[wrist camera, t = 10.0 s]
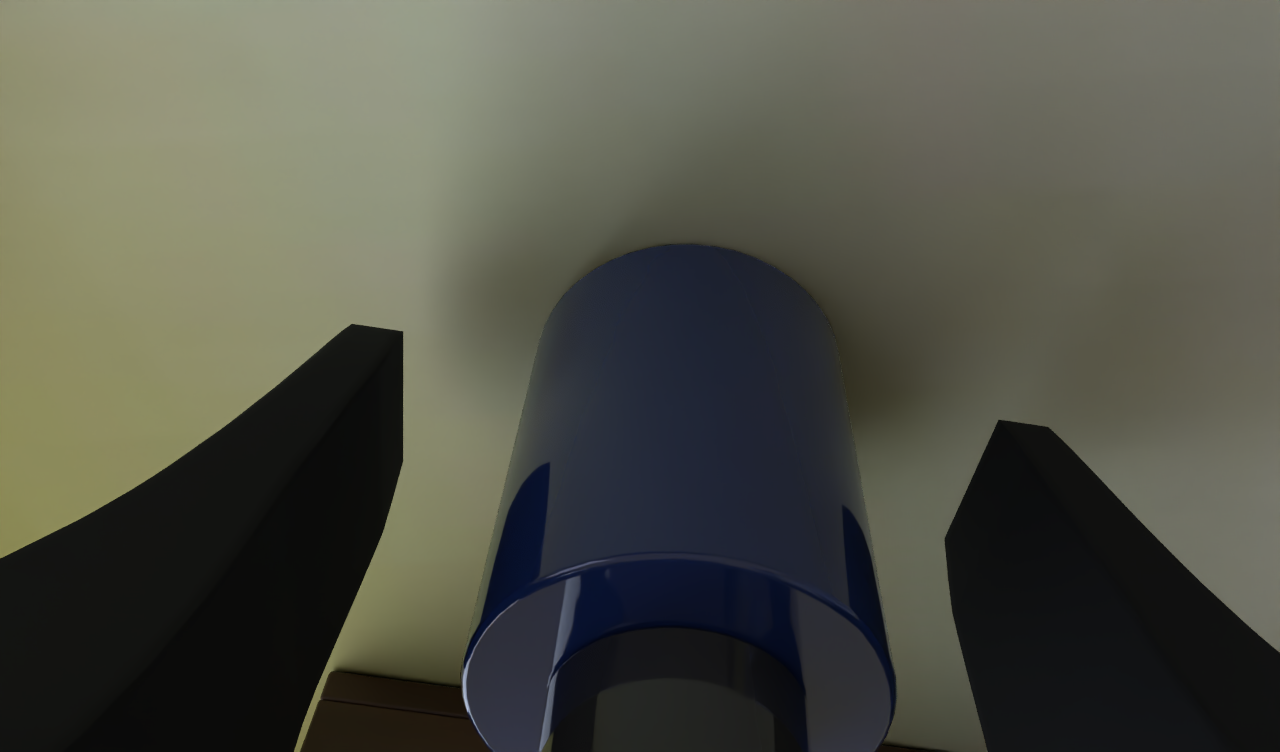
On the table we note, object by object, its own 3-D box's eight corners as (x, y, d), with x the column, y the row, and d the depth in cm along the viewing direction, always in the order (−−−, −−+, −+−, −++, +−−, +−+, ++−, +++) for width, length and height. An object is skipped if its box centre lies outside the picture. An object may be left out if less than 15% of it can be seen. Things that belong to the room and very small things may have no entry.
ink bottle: (799, 503, 15) (853, 1044, 9) (525, 464, 15) (410, 989, 9) (876, 267, 12) (1012, 801, 7) (551, 218, 12) (413, 722, 7)
